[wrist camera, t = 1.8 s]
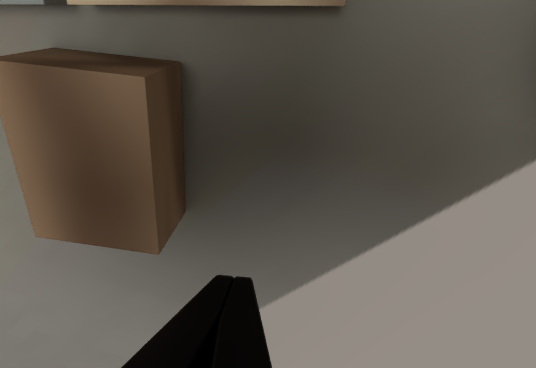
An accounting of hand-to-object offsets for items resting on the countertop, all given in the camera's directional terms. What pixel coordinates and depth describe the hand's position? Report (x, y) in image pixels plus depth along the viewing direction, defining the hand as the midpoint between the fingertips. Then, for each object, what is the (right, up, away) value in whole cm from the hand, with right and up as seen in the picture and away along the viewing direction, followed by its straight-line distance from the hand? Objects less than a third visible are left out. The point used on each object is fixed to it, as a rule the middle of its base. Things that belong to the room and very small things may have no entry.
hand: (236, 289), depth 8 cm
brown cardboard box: (-6, +5, +9) cm, 12 cm away
